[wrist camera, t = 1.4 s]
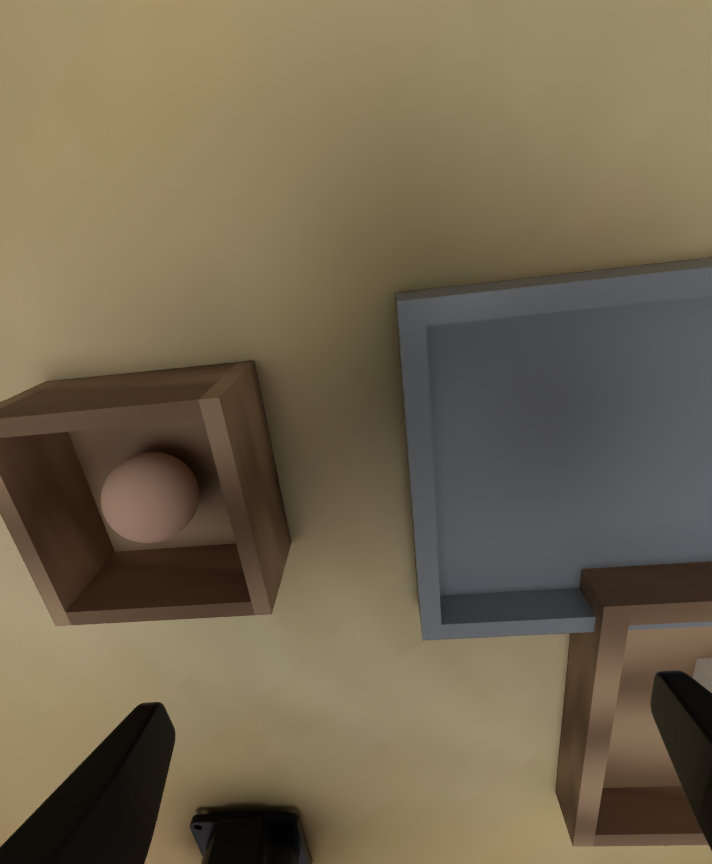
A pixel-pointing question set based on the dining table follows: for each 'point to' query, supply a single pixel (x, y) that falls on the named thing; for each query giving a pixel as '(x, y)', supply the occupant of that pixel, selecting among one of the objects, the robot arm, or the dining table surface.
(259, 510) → the box
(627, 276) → the tray
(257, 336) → the dining table surface
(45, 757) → the dining table surface
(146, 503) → the ball
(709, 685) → the letter cube
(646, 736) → the brown wooden tray
